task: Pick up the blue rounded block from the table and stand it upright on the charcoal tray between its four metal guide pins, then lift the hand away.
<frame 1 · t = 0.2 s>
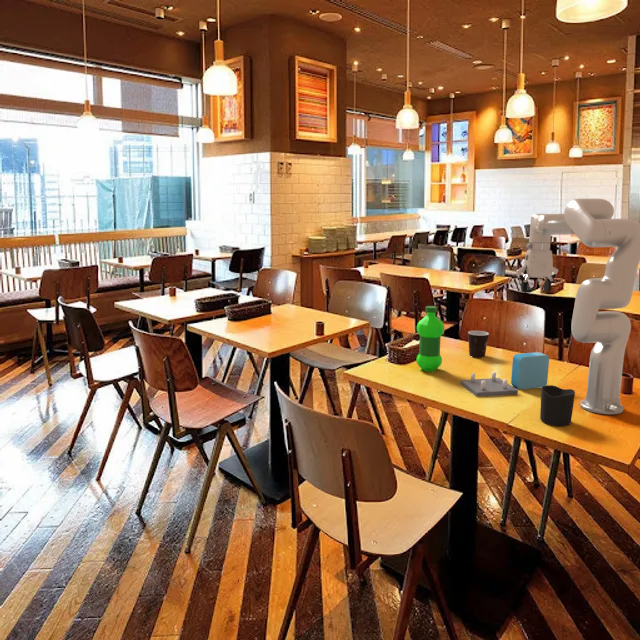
hand: (535, 291, 227), 31 cm above the table, tool pointing down, fingers open, 9 cm apart
blue rounded block: (528, 387, 212), on the table
plastic bottle: (428, 370, 233), on the table
pin tray: (488, 389, 210), on the table
pen holder: (555, 422, 180), on the table
coffee mug: (474, 357, 251), on the table
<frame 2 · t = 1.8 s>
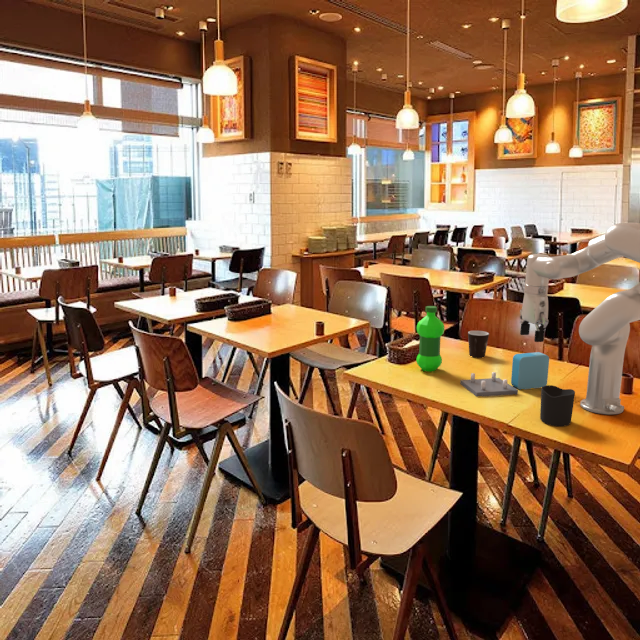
hand: (531, 338, 209), 18 cm above the table, tool pointing down, fingers open, 9 cm apart
nothing on the table moved.
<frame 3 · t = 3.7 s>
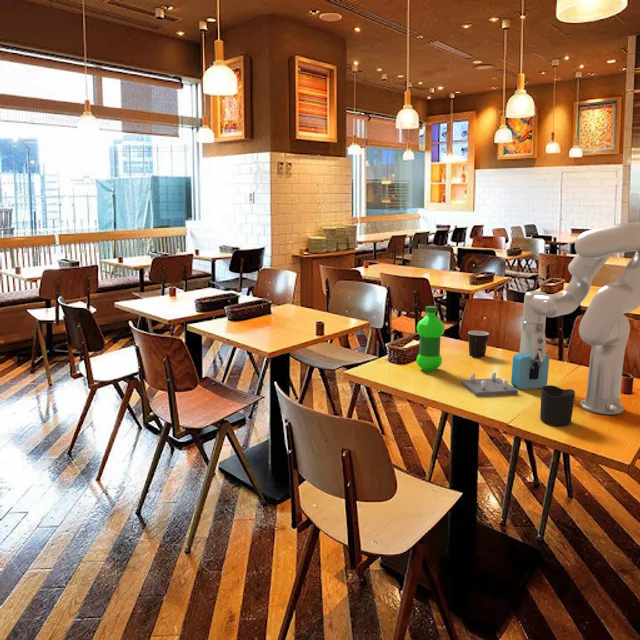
hand: (529, 376, 211), 4 cm above the table, tool pointing down, fingers closed on blue rounded block, 4 cm apart
blue rounded block: (528, 387, 212), on the table, touching gripper
everything else where it was.
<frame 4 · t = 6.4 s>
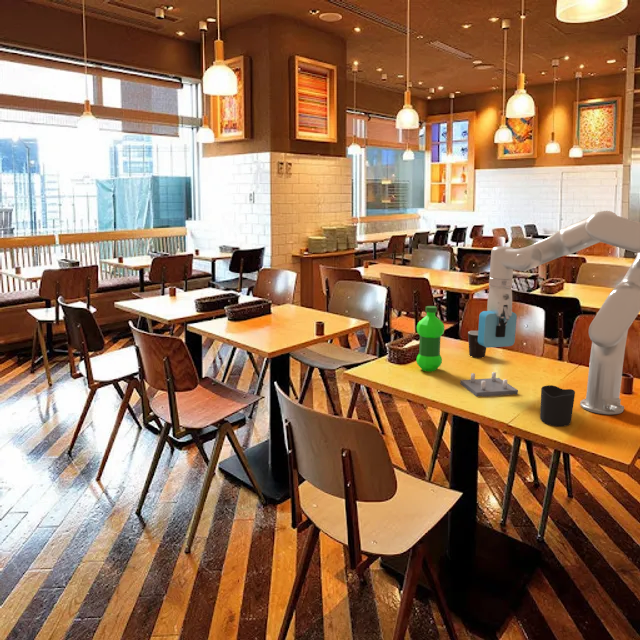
hand: (496, 334, 206), 20 cm above the table, tool pointing down, fingers closed on blue rounded block, 4 cm apart
blue rounded block: (495, 346, 207), point 16 cm above the table, touching gripper
everything else where it was.
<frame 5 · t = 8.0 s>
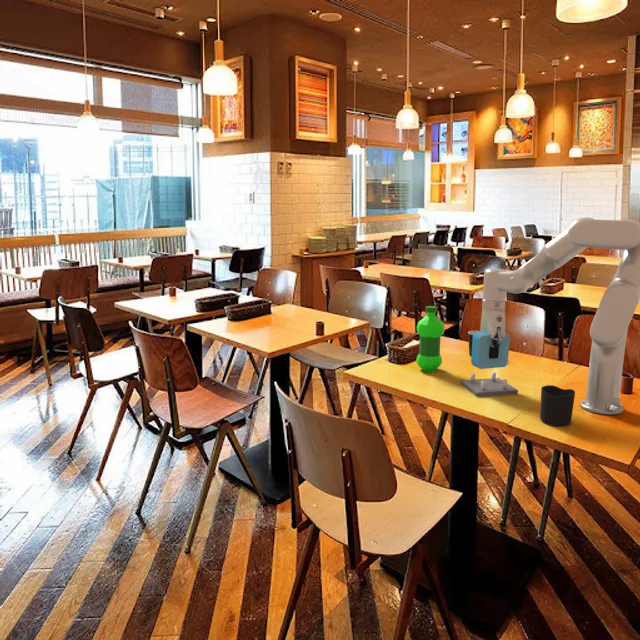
hand: (489, 355, 207), 12 cm above the table, tool pointing down, fingers closed on blue rounded block, 4 cm apart
blue rounded block: (489, 366, 208), point 8 cm above the table, touching gripper
everything else where it was.
when the fingers open (6 cm above the table, at t = 9.4 s): blue rounded block stays where it is, resting on pin tray.
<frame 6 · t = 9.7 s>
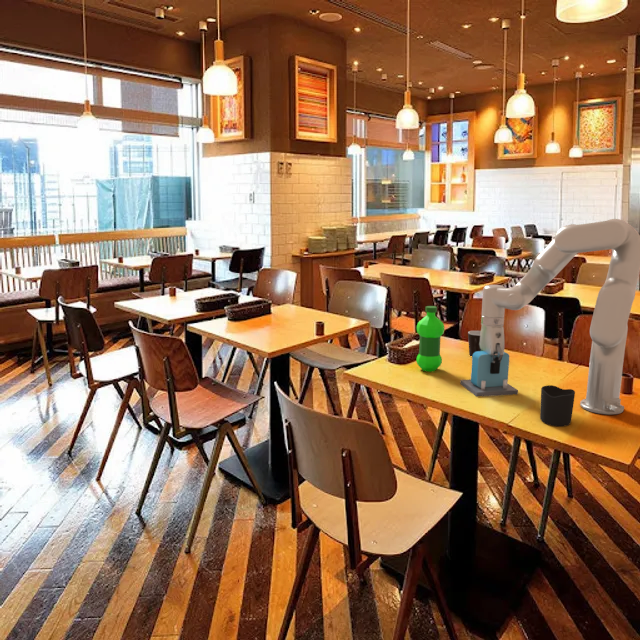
hand: (489, 369, 208), 7 cm above the table, tool pointing down, fingers open, 7 cm apart
blue rounded block: (489, 385, 209), point 1 cm above the table, touching pin tray
everything else where it was.
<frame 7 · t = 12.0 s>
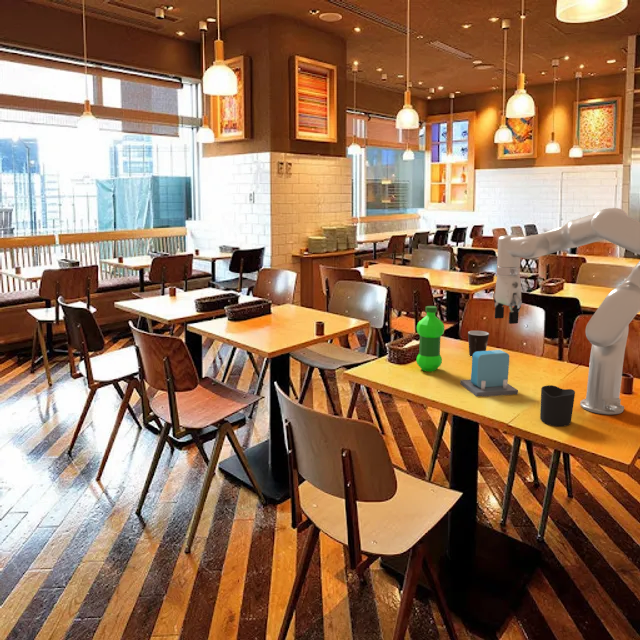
hand: (506, 320, 207), 24 cm above the table, tool pointing down, fingers open, 9 cm apart
nothing on the table moved.
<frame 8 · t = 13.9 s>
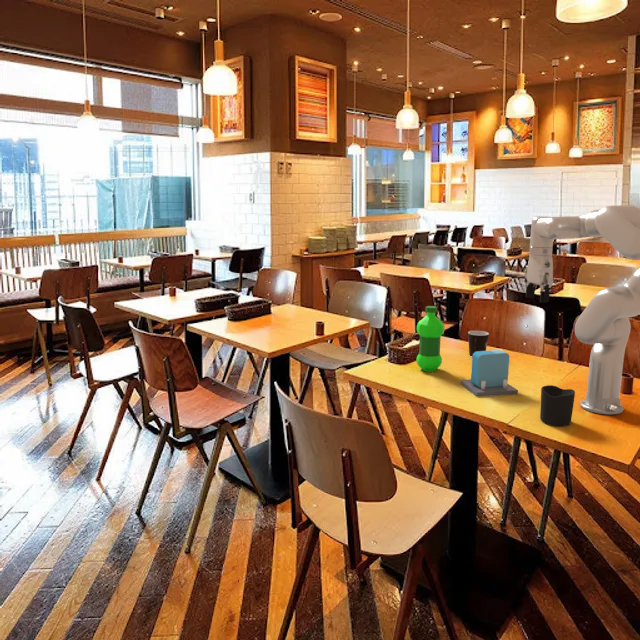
hand: (536, 299, 212), 30 cm above the table, tool pointing down, fingers open, 9 cm apart
nothing on the table moved.
at the end: blue rounded block 0.2 cm off-centre on the pin tray, point 1.3 cm above the pin tray's base; blue rounded block tilted 0°; the gripper is holding nothing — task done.
